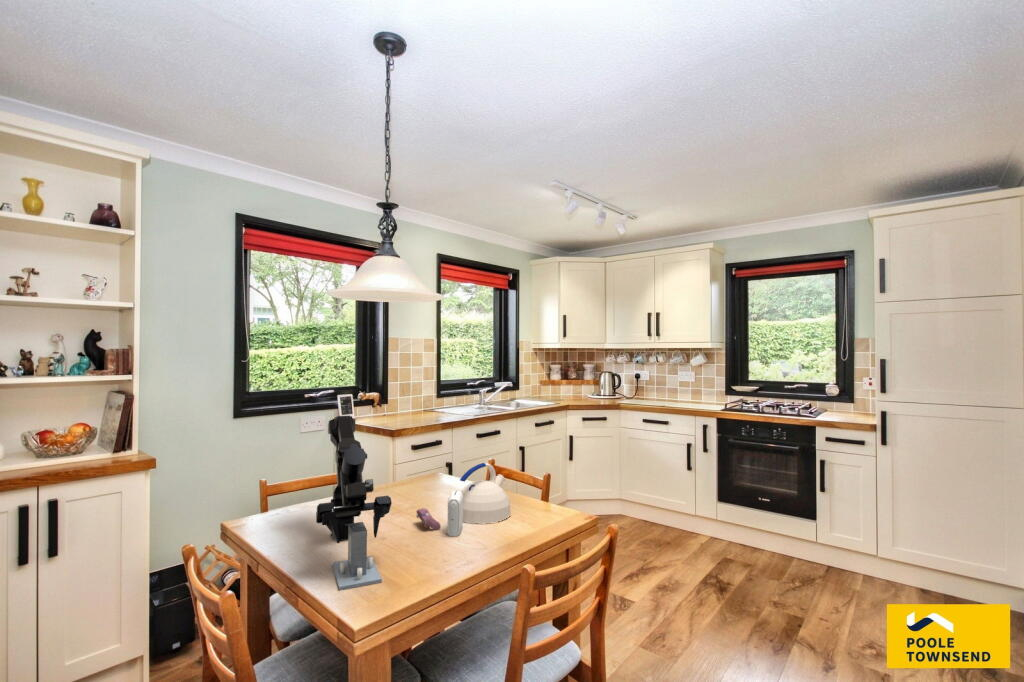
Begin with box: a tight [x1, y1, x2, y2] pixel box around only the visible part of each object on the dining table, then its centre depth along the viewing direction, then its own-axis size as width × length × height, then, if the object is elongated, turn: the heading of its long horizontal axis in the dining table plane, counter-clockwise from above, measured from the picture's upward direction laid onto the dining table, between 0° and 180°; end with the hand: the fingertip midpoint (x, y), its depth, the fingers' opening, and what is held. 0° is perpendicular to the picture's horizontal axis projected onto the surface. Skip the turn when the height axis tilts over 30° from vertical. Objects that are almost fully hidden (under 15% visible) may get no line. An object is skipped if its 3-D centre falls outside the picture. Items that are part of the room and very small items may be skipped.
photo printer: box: [446, 489, 464, 537], centre depth 155 cm, size 10×4×12 cm, turn 0°
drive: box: [347, 521, 368, 577], centre depth 124 cm, size 7×4×11 cm, turn 26°
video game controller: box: [415, 507, 442, 531], centre depth 159 cm, size 10×5×7 cm, turn 28°
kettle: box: [459, 462, 512, 525], centre depth 171 cm, size 20×21×18 cm
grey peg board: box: [332, 555, 383, 591], centre depth 124 cm, size 15×10×3 cm, turn 26°
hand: (357, 539), depth 124 cm, fingers open, 9 cm apart
